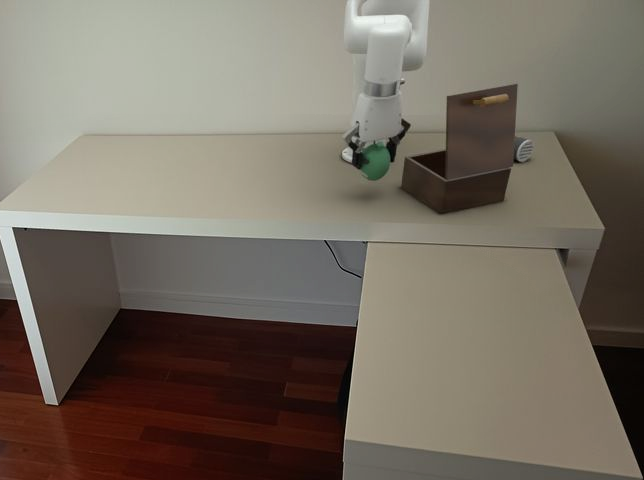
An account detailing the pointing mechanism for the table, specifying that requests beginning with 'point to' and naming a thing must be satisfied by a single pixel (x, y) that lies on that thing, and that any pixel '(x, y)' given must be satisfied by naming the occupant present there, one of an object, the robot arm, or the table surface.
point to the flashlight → (522, 148)
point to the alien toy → (375, 161)
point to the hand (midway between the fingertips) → (373, 163)
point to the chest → (450, 184)
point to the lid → (480, 131)
